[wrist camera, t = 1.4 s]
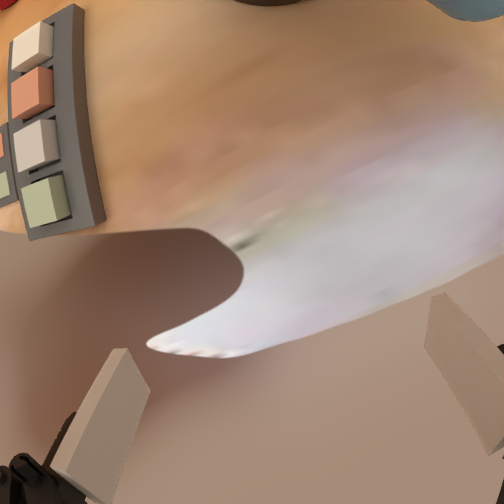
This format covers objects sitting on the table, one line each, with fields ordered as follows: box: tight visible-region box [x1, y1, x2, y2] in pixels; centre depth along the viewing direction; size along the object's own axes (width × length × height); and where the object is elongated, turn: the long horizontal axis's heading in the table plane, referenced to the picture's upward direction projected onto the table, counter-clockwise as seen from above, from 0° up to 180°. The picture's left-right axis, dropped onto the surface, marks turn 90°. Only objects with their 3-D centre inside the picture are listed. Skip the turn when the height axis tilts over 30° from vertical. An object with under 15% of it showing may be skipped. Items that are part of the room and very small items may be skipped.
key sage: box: [21, 175, 71, 228], centre depth 29 cm, size 5×5×3 cm
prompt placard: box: [0, 122, 19, 207], centre depth 30 cm, size 12×6×1 cm, turn 8°
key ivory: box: [12, 21, 54, 73], centre depth 21 cm, size 5×5×3 cm
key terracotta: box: [11, 66, 55, 119], centre depth 24 cm, size 5×5×3 cm
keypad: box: [8, 3, 106, 241], centre depth 27 cm, size 30×12×3 cm, turn 8°
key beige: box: [13, 119, 61, 173], centre depth 26 cm, size 5×5×3 cm
